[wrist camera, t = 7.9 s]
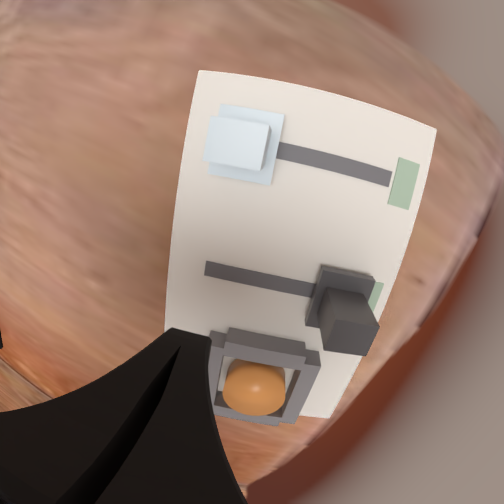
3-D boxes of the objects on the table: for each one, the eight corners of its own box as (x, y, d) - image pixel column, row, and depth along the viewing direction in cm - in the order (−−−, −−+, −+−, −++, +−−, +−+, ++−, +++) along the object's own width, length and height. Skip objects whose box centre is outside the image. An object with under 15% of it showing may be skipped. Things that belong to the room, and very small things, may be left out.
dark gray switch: (352, 328, 16) (366, 370, 12) (304, 319, 16) (309, 363, 12) (372, 276, 15) (395, 312, 11) (321, 265, 15) (332, 300, 11)
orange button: (277, 399, 18) (276, 419, 17) (223, 389, 18) (218, 409, 17) (292, 360, 17) (292, 381, 15) (232, 349, 17) (227, 368, 15)
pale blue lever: (270, 184, 14) (267, 196, 10) (210, 172, 14) (187, 181, 10) (284, 116, 12) (286, 105, 9) (223, 105, 13) (204, 92, 9)
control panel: (327, 403, 20) (330, 432, 18) (169, 373, 21) (156, 400, 18) (424, 130, 14) (450, 128, 11) (206, 76, 14) (191, 62, 11)
